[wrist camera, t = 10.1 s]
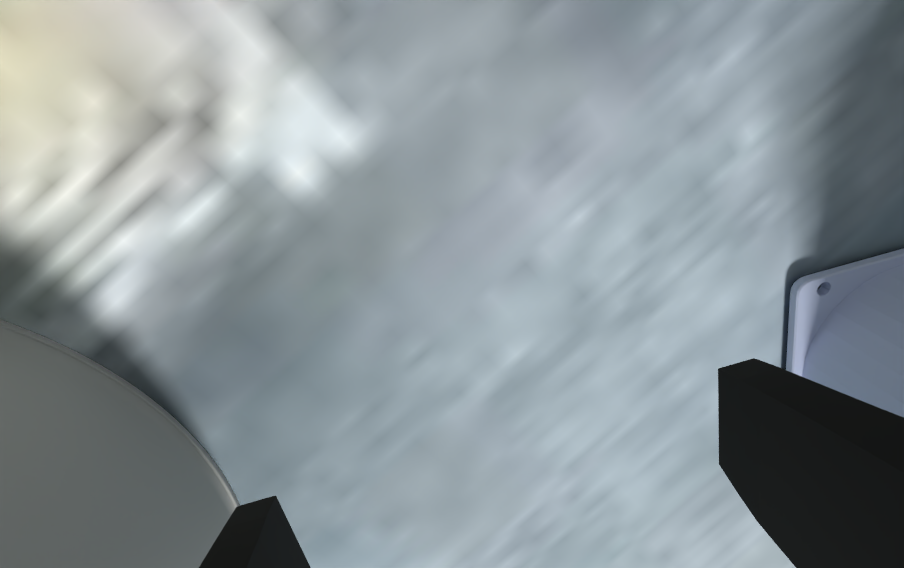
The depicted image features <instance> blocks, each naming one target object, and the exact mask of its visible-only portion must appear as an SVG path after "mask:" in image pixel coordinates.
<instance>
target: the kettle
mask: <svg viewBox="0 0 904 568" xmlns="http://www.w3.org/2000/svg"><path fill="white" fill-rule="evenodd" d="M237 506H240V504H239V502H238V500H237V498H236V496H235V494H234V492H233V490H232V488H231V486H230V485H229V483H228V481H227V480H226V478H225V476H224V475H223V473H222V472H221V470H220V469H219V467H218V466H217V465H216V463H215V462H214V461H213V459H212V458H211V457H210V455H209V454H208V453H207V452H206V450H205V449H204V448H203V447H202V446H201V445H200V443H199V442H198V441H197V440H196V439H195V438H194V437H193V436H192V435H191V434H190V433H189V432H188V431H187V430H186V429H185V428H184V427H183V426H182V425H181V424H180V423H179V422H178V421H177V420H176V419H175V418H174V417H173V416H171V415H170V414H169V413H168V412H167V411H166V410H165V409H163V408H162V407H161V406H160V405H158V404H157V403H156V402H155V401H153V400H152V399H151V398H150V397H148V396H147V395H146V394H144V393H143V392H142V391H140V390H139V389H137V388H136V387H135V386H133V385H132V384H130V383H129V382H127V381H126V380H124V379H123V378H121V377H120V376H118V375H116V374H115V373H113V372H111V371H110V370H108V369H107V368H105V367H103V366H102V365H100V364H98V363H96V362H94V361H93V360H91V359H89V358H87V357H85V356H83V355H82V354H80V353H78V352H76V351H74V350H72V349H70V348H68V347H66V346H64V345H61V344H59V343H57V342H55V341H53V340H51V339H48V338H46V337H44V336H41V335H39V334H37V333H34V332H32V331H29V330H27V329H24V328H22V327H19V326H17V325H14V324H11V323H9V322H6V321H3V320H0V568H199V566H200V565H201V563H202V562H203V560H204V558H205V557H206V555H207V553H208V552H209V550H210V548H211V547H212V545H213V543H214V542H215V540H216V539H217V537H218V535H219V534H220V532H221V531H222V529H223V527H224V526H225V524H226V523H227V521H228V519H229V518H230V516H231V515H232V513H233V511H234V510H235V508H236V507H237Z"/></svg>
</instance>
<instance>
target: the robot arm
mask: <svg viewBox="0 0 904 568" xmlns="http://www.w3.org/2000/svg"><path fill="white" fill-rule="evenodd" d="M820 284H822V285H821V287H820V288H819V289H818V287H819V286H820ZM817 289H818V290H817ZM718 390H719V465H720V466H721V468H722V469H723V471H724V472H725V474H726V475H727V477H728V479H729V480H730V482H731V483H732V485H733V486H734V488H735V489H736V491H737V492H738V494H739V495H740V497H741V498H742V500H743V501H744V503H745V504H746V506H747V507H748V508H749V510H750V511H751V513H752V514H753V516H754V517H755V519H756V520H757V521H758V523H759V524H760V525H761V526H762V527H763V529H764V530H765V531H766V532H767V534H768V535H769V536H770V537H771V538H772V539H773V541H774V542H775V543H776V544H777V545H778V547H779V548H780V549H781V550H782V551H783V553H784V554H785V555H786V556H787V557H788V558H789V560H790V561H791V562H792V563H793V564H794V566H795V567H796V568H904V248H903V249H900V250H896V251H893V252H889V253H885V254H882V255H878V256H875V257H871V258H867V259H864V260H860V261H857V262H853V263H849V264H846V265H842V266H839V267H835V268H832V269H828V270H824V271H821V272H817V273H814V274H810V275H806V276H803V277H801V278H799V279H798V280H797V281H796V282H794V284H793V286H792V287H791V291H790V306H789V324H788V343H787V361H786V370H784V369H782V368H779V367H776V366H774V365H771V364H768V363H766V362H763V361H760V360H757V359H750V360H747V361H743V362H740V363H736V364H733V365H729V366H726V367H722V368H719V369H718ZM199 568H310V566H309V564H308V562H307V560H306V557H305V555H304V553H303V551H302V549H301V547H300V545H299V543H298V541H297V539H296V537H295V535H294V533H293V530H292V528H291V526H290V524H289V522H288V520H287V518H286V516H285V514H284V512H283V510H282V508H281V506H280V503H279V501H278V499H277V497H276V496H272V497H269V498H265V499H262V500H258V501H255V502H251V503H248V504H244V505H241V506H237V507H236V508H235V510H234V511H233V513H232V515H231V516H230V518H229V519H228V521H227V523H226V524H225V526H224V527H223V529H222V531H221V532H220V534H219V535H218V537H217V539H216V540H215V542H214V543H213V545H212V547H211V548H210V550H209V552H208V553H207V555H206V557H205V558H204V560H203V562H202V563H201V565H200V566H199Z"/></svg>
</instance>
